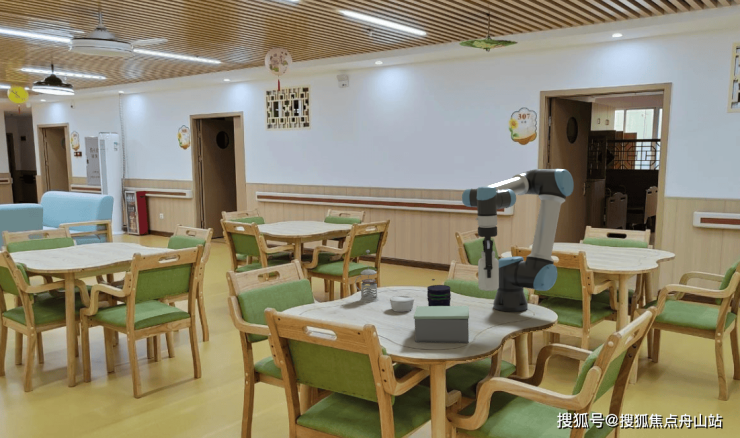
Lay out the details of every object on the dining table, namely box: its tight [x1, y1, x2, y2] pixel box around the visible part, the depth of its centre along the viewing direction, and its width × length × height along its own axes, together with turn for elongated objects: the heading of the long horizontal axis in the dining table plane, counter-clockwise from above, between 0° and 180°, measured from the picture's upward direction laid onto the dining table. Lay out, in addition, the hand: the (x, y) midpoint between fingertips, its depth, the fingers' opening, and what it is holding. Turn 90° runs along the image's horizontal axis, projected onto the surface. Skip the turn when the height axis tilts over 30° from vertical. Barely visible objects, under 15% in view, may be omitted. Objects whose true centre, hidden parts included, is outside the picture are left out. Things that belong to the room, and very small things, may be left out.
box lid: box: [413, 305, 470, 320], centre depth 226 cm, size 21×15×1 cm
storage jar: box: [426, 278, 452, 306], centre depth 246 cm, size 10×10×18 cm
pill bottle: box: [477, 250, 499, 292], centre depth 231 cm, size 8×8×15 cm
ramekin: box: [389, 295, 415, 313], centre depth 269 cm, size 11×11×5 cm
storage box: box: [414, 319, 470, 344], centre depth 227 cm, size 20×14×9 cm
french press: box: [354, 249, 380, 303], centre depth 288 cm, size 10×12×25 cm
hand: (488, 283), depth 231 cm, fingers closed on pill bottle, 8 cm apart
